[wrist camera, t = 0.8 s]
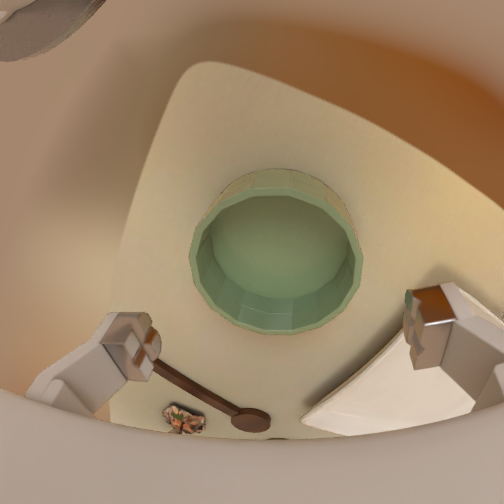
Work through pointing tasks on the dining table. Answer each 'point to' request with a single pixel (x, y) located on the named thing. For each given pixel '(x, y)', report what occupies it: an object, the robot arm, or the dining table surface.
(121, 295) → the dining table surface
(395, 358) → the square plate
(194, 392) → the wooden paddle
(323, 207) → the bowl
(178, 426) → the plant with pod
